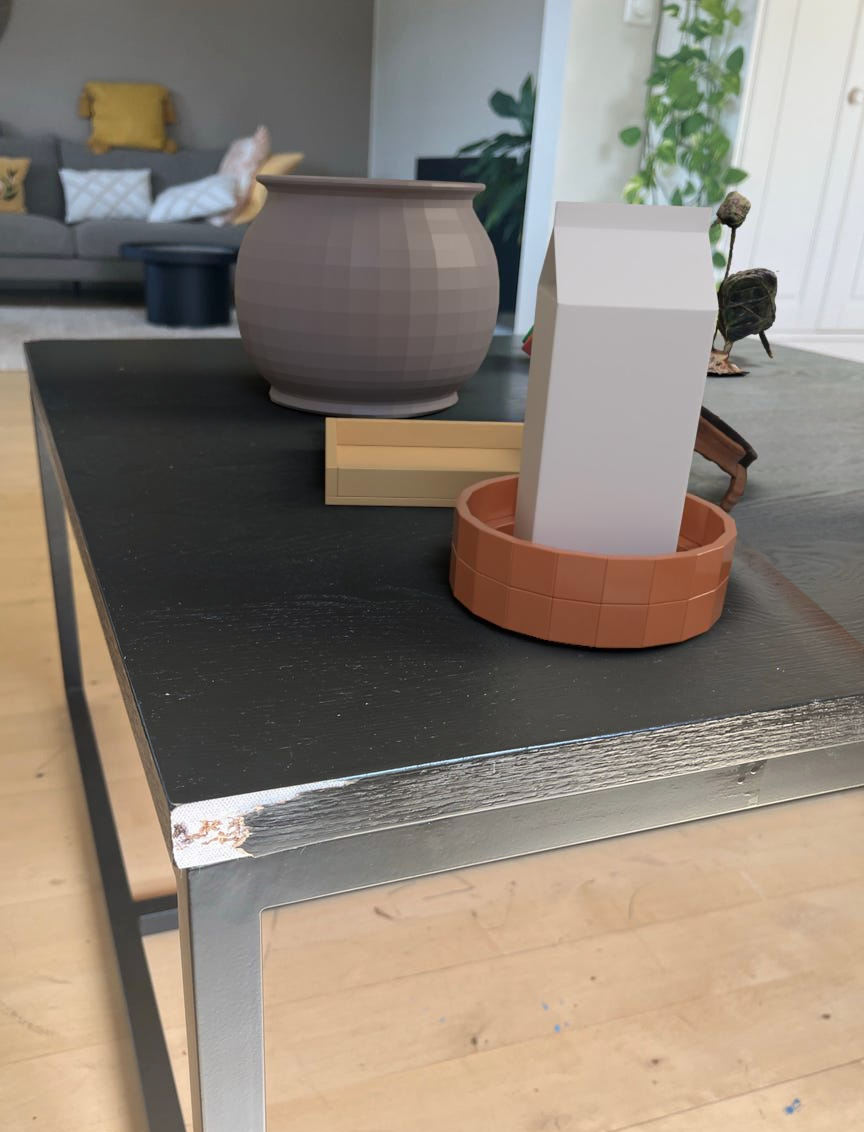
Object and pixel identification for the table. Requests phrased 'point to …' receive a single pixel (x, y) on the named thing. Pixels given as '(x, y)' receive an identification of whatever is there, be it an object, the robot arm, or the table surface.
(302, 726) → the table surface
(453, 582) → the bowl
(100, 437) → the table surface
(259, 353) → the round clay pot
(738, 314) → the plant with pod
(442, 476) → the tray
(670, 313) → the milk carton
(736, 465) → the brown curved piece
